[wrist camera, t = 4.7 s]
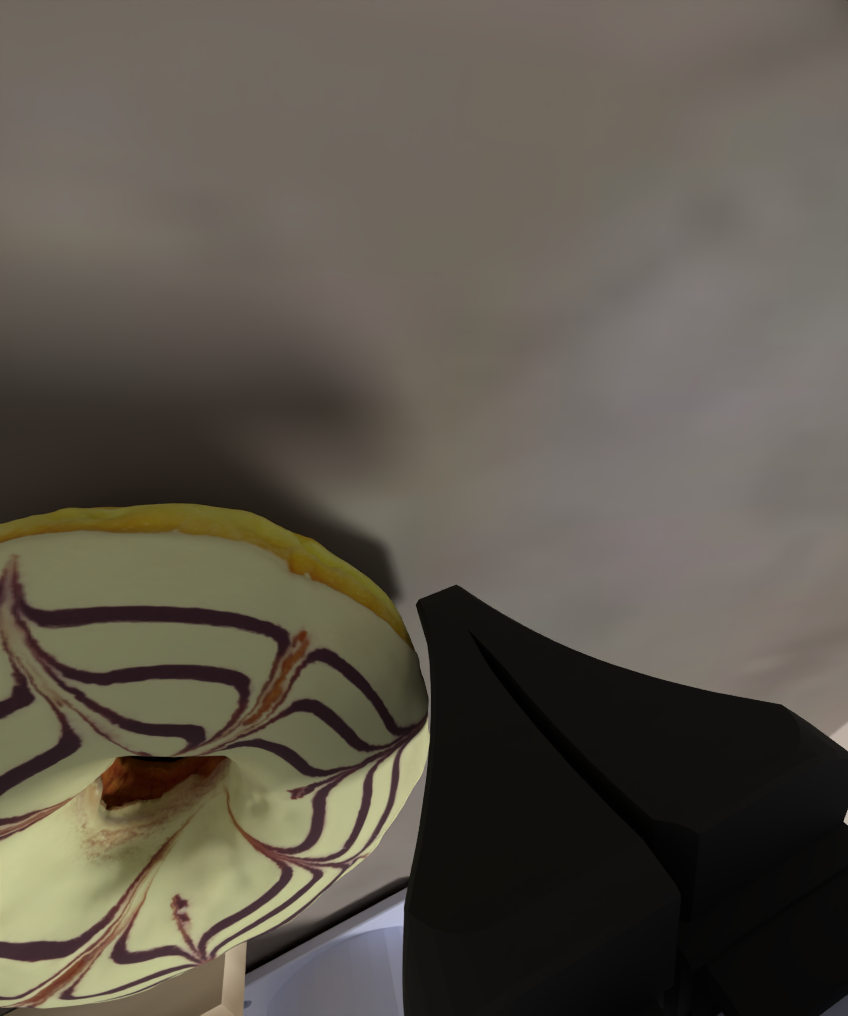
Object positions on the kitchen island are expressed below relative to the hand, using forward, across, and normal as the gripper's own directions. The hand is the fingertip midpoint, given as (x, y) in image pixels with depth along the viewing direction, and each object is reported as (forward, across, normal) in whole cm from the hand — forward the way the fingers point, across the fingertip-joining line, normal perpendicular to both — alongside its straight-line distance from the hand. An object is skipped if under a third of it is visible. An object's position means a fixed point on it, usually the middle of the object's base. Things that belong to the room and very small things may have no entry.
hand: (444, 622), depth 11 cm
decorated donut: (+2, +7, 0) cm, 7 cm away
